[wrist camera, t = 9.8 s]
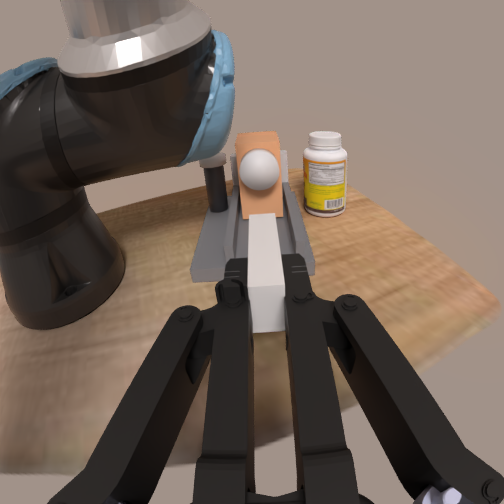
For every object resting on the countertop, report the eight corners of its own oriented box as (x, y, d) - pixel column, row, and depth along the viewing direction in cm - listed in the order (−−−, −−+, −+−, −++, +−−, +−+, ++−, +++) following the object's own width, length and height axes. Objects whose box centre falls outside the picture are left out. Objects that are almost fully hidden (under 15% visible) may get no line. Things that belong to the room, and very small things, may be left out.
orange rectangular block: (242, 227, 34) (233, 148, 29) (244, 198, 41) (237, 133, 36) (284, 224, 34) (281, 145, 29) (279, 196, 40) (275, 130, 36)
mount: (192, 282, 29) (176, 211, 25) (212, 207, 44) (205, 156, 39) (314, 275, 29) (316, 200, 25) (294, 201, 43) (292, 149, 39)
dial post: (205, 215, 38) (196, 161, 34) (208, 204, 41) (200, 154, 37) (230, 213, 38) (224, 158, 34) (232, 202, 41) (226, 151, 37)
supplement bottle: (315, 198, 44) (314, 128, 38) (351, 206, 41) (354, 133, 35) (296, 213, 40) (293, 135, 34) (335, 223, 37) (337, 140, 31)
